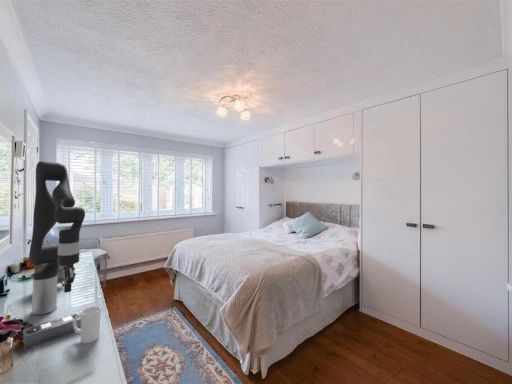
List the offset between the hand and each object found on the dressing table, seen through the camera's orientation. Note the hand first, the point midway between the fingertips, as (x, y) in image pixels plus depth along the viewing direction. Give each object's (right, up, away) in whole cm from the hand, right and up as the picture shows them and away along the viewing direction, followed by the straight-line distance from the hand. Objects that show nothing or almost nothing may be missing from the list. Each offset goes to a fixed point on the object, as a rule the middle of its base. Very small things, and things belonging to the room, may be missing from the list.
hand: (67, 291), depth 102 cm
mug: (+12, -18, -5) cm, 22 cm away
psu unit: (-3, -17, -3) cm, 18 cm away
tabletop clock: (-43, -16, +40) cm, 61 cm away
